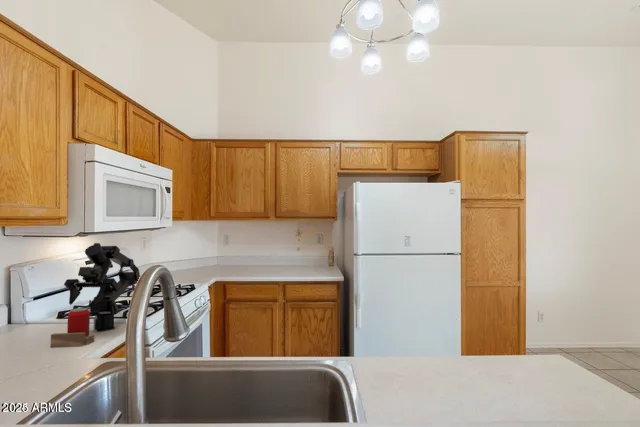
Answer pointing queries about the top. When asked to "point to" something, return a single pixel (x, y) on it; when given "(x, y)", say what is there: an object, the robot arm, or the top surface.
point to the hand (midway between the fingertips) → (82, 303)
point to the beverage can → (79, 321)
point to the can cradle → (70, 339)
